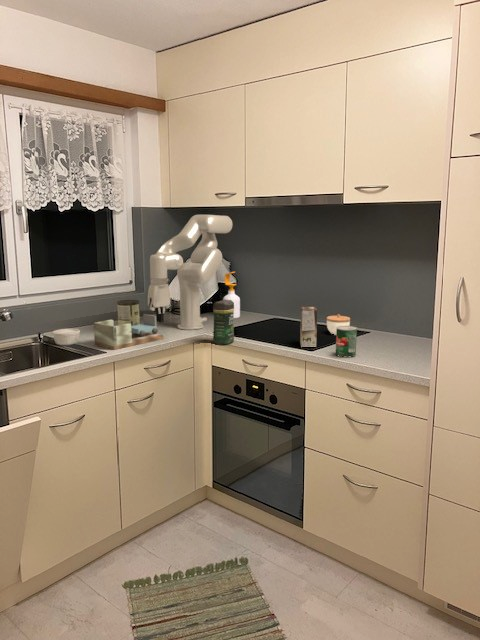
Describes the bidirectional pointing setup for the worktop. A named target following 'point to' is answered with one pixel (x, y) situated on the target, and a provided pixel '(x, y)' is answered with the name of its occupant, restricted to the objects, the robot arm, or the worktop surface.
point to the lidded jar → (337, 322)
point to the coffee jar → (223, 322)
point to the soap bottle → (232, 296)
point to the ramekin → (66, 336)
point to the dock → (119, 335)
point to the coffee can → (128, 312)
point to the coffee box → (308, 326)
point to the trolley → (146, 325)
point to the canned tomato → (346, 340)
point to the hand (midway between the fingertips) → (160, 321)
